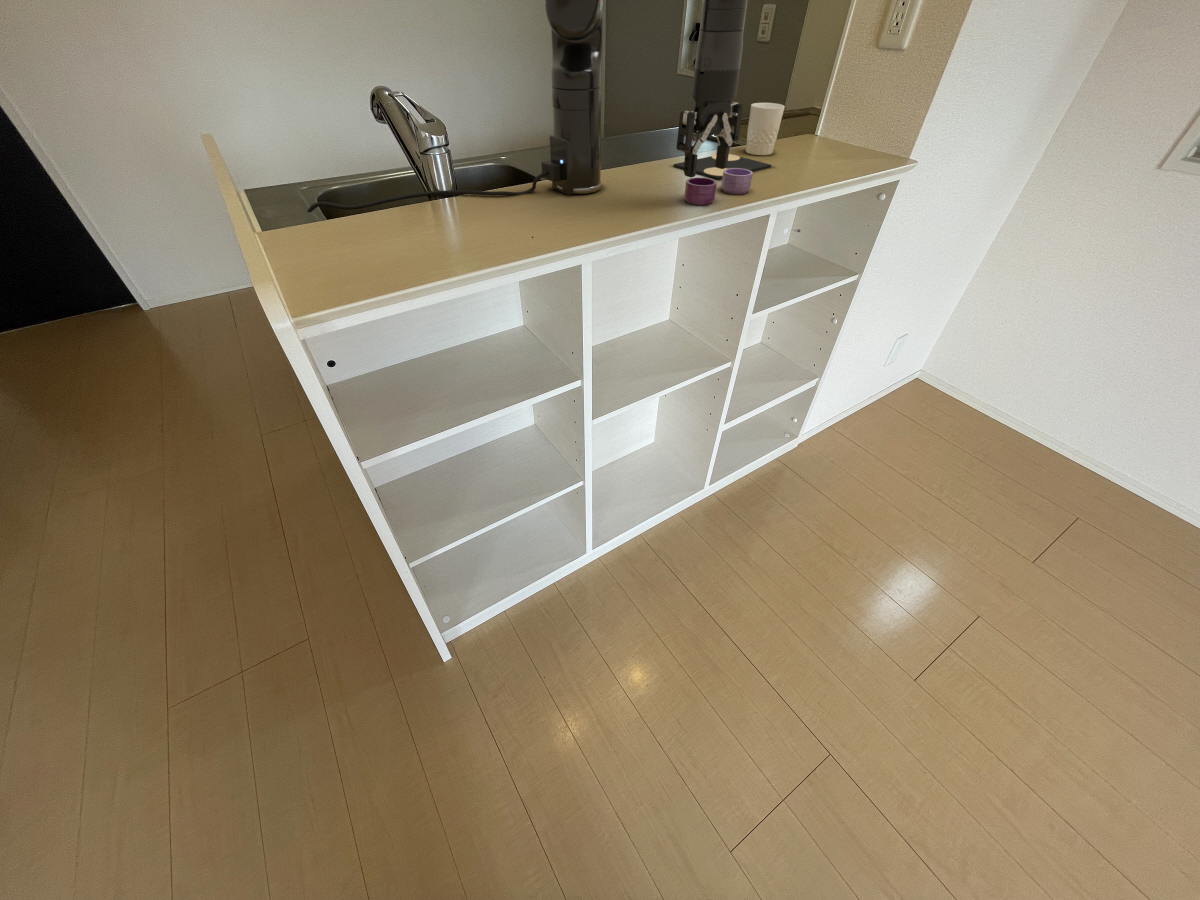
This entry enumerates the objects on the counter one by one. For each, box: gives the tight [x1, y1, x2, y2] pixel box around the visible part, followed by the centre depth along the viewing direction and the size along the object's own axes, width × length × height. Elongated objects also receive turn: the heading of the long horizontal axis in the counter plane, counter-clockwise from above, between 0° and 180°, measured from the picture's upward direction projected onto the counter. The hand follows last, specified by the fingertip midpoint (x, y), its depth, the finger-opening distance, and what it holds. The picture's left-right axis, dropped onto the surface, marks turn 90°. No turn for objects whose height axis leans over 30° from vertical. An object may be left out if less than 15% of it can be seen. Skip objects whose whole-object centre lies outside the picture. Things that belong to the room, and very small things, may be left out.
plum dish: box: [683, 176, 718, 206], centre depth 97 cm, size 6×6×4 cm
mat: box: [673, 153, 772, 181], centre depth 118 cm, size 18×15×1 cm
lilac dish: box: [720, 168, 754, 195], centre depth 103 cm, size 6×6×4 cm
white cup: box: [745, 102, 785, 156], centre depth 125 cm, size 8×8×10 cm
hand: (705, 172), depth 96 cm, fingers open, 8 cm apart
